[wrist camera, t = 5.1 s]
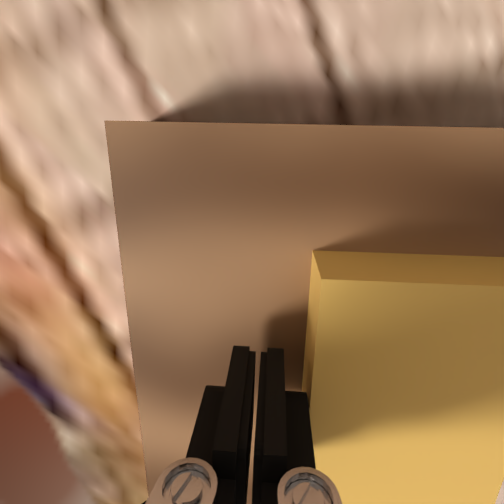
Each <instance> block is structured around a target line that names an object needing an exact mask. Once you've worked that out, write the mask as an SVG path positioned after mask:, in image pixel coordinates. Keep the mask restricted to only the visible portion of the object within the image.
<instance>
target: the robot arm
mask: <svg viewBox="0 0 504 504" xmlns="http://www.w3.org/2000/svg"><path fill="white" fill-rule="evenodd" d="M255 361H256V351H250V346H235V345H234V346H233V350H232V355H231V360H230V365H229V370H228V375H227V379H226V384H225V386H213V385H206V387H205V390H204V393H203V397H202V401H201V404H200V408H199V411H198V415H197V418H196V422H195V426H194V429H193V433H192V436H191V440H190V444H189V447H188V451H187V454H186V458H183V459H179V460H177V461H175V462H173V463H171V464H170V465H169V466H168V467H167V468H165V469H164V470H163V472H162V473H161V475H160V476H159V478H158V480H157V482H156V484H155V486H154V487H153V489H152V491H151V493H150V495H149V497H148V499H147V501H145V502H144V503H142V504H247V492H248V479H249V467H250V455H251V442H252V430H253V414H254V388H255ZM252 504H342V501H341V498H340V495H339V492H338V490H337V488H336V486H335V484H334V483H333V482H332V481H331V479H330V478H329V477H328V476H327V475H325V474H324V473H322V472H321V471H319V470H316V465H315V456H314V448H313V439H312V431H311V422H310V413H309V405H308V397H307V393H306V392H298V391H285V369H284V349H282V348H267V352H261V357H260V371H259V385H258V399H257V413H256V428H255V442H254V459H253V483H252Z"/></svg>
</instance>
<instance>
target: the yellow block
mask: <svg viewBox="0 0 504 504" xmlns="http://www.w3.org/2000/svg"><path fill="white" fill-rule="evenodd" d="M302 392H306V393H307V397H308V405H309V413H310V422H311V431H312V439H313V448H314V456H315V465H316V470H319V471H321V472H322V473H324V474H325V475H327V476H328V477H329V478H330V479H331V481H332V482H333V483H334V484H335V486H336V488H337V490H338V492H339V495H340V498H341V501H342V504H495V502H496V499H497V496H498V493H499V490H500V488H501V485H502V482H503V479H504V257H485V256H457V255H429V254H401V253H373V252H345V251H316V250H313V251H312V264H311V277H310V289H309V302H308V315H307V328H306V341H305V354H304V366H303V379H302Z"/></svg>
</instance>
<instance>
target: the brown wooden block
mask: <svg viewBox="0 0 504 504" xmlns="http://www.w3.org/2000/svg"><path fill="white" fill-rule="evenodd" d="M105 129H106V137H107V146H108V154H109V163H110V171H111V180H112V188H113V197H114V205H115V214H116V222H117V231H118V239H119V248H120V257H121V265H122V274H123V282H124V291H125V299H126V308H127V316H128V325H129V333H130V342H131V350H132V359H133V367H134V376H135V384H136V393H137V401H138V410H139V419H140V427H141V436H142V444H143V453H144V461H145V470H146V478H147V487H148V495H150V493H151V491H152V489H153V487H154V486H155V484H156V482H157V480H158V478H159V476H160V475H161V473H162V472H163V470H164V469H165V468H167V467H168V466H169V465H170V464H171V463H173V462H175V461H177V460H179V459H183V458H186V454H187V451H188V447H189V444H190V440H191V436H192V433H193V429H194V426H195V422H196V418H197V415H198V411H199V408H200V404H201V401H202V397H203V393H204V390H205V387H206V385H213V386H225V384H226V379H227V375H228V370H229V365H230V360H231V355H232V350H233V346H234V345H235V346H250V351H256V361H255V388H254V414H253V430H252V442H251V455H250V467H249V479H248V492H247V504H252V483H253V459H254V442H255V428H256V413H257V399H258V385H259V371H260V357H261V352H267V348H282V349H284V369H285V391H298V392H302V379H303V366H304V354H305V341H306V328H307V315H308V302H309V289H310V277H311V264H312V251H313V250H316V251H345V252H373V253H401V254H429V255H457V256H485V257H504V128H482V127H427V126H371V125H316V124H261V123H205V122H150V121H105Z"/></svg>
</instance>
